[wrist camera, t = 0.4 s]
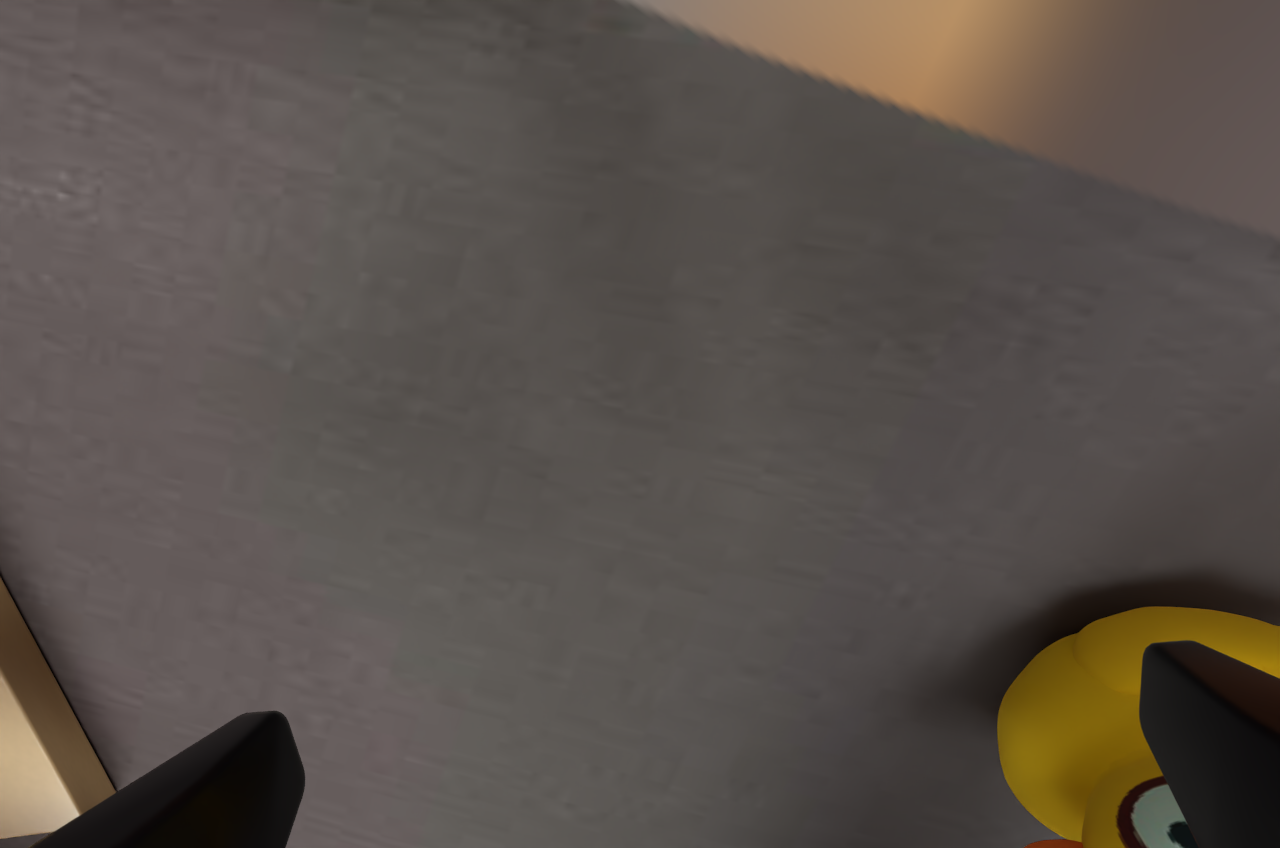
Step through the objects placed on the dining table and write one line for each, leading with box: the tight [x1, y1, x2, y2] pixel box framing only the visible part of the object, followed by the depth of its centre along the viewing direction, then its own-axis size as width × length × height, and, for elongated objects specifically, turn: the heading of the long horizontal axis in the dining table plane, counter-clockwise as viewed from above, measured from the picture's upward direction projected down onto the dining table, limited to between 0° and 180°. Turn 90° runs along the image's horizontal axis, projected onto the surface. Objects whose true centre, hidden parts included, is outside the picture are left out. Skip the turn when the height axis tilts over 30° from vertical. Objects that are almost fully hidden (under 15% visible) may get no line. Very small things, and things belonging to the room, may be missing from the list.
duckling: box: [997, 606, 1280, 848], centre depth 20 cm, size 11×5×10 cm, turn 106°
